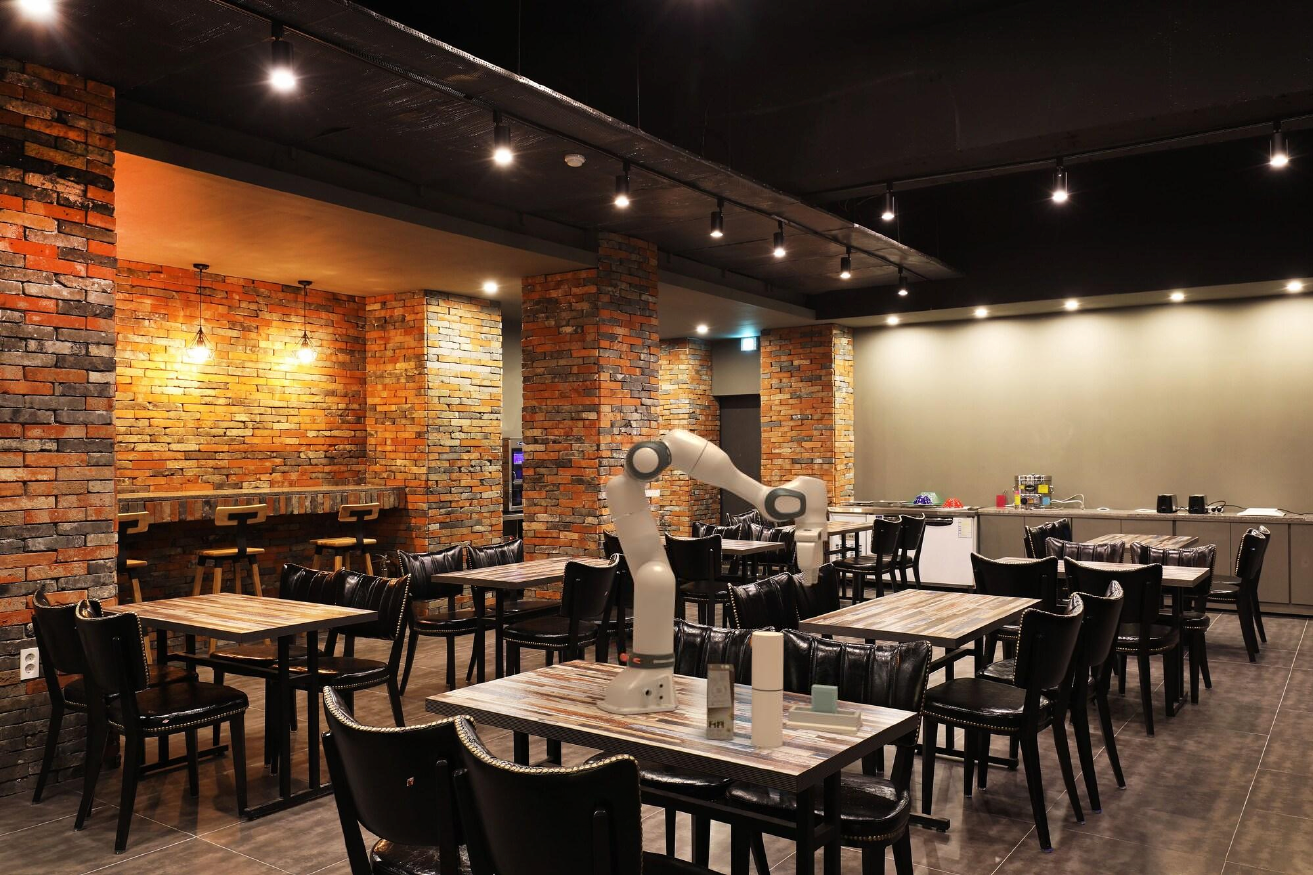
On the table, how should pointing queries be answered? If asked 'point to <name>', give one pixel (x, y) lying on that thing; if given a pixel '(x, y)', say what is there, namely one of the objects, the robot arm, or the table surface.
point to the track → (824, 720)
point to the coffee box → (720, 701)
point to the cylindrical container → (767, 689)
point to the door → (824, 699)
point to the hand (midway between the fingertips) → (810, 584)
